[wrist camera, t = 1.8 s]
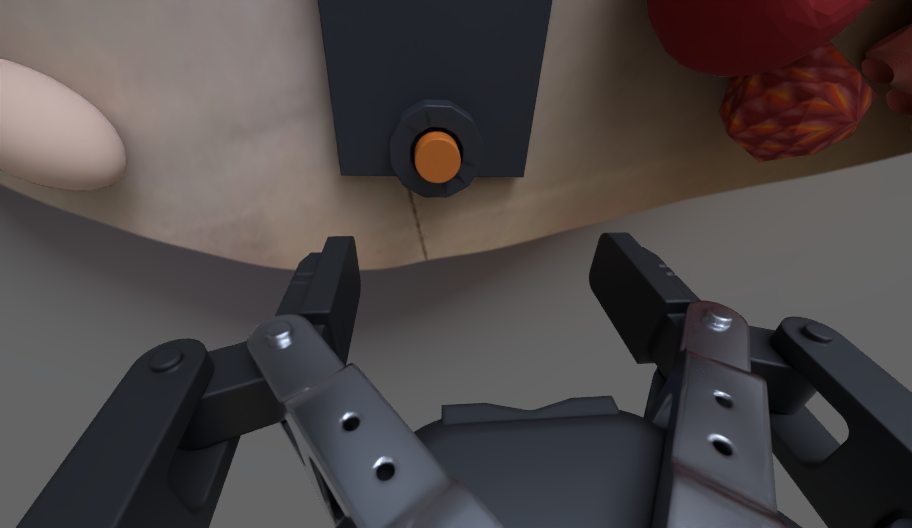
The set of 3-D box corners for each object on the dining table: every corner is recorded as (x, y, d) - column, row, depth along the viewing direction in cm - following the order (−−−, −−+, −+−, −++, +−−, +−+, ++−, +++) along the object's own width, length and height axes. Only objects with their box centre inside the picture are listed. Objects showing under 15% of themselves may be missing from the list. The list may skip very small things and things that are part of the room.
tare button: (456, 173, 23) (459, 183, 22) (414, 173, 23) (415, 183, 22) (459, 131, 22) (462, 139, 20) (414, 130, 21) (414, 138, 20)
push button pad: (517, 180, 27) (527, 198, 24) (345, 178, 25) (338, 197, 23) (556, -78, 19) (578, -90, 16) (310, -100, 17) (294, -117, 15)
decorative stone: (716, 160, 27) (813, 207, 21) (670, 96, 24) (765, 127, 18) (803, 87, 25) (944, 114, 18) (763, 7, 22) (914, 4, 15)
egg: (82, 227, 21) (-107, 123, 18) (152, 169, 24) (0, 69, 21) (71, 190, 18) (-172, 50, 14) (155, 126, 21) (-31, -3, 17)
